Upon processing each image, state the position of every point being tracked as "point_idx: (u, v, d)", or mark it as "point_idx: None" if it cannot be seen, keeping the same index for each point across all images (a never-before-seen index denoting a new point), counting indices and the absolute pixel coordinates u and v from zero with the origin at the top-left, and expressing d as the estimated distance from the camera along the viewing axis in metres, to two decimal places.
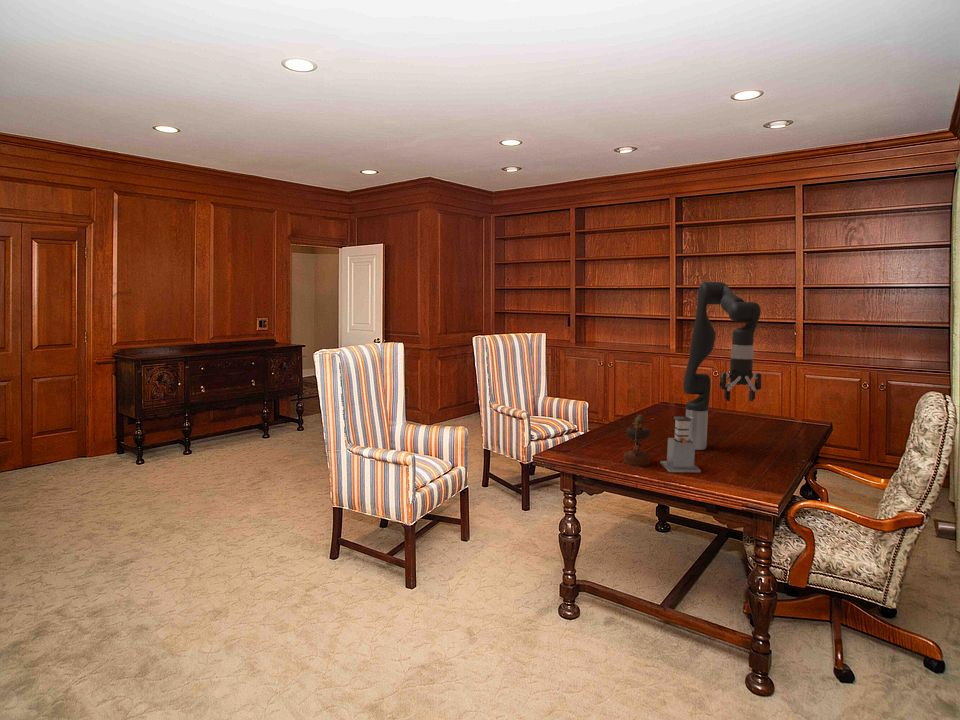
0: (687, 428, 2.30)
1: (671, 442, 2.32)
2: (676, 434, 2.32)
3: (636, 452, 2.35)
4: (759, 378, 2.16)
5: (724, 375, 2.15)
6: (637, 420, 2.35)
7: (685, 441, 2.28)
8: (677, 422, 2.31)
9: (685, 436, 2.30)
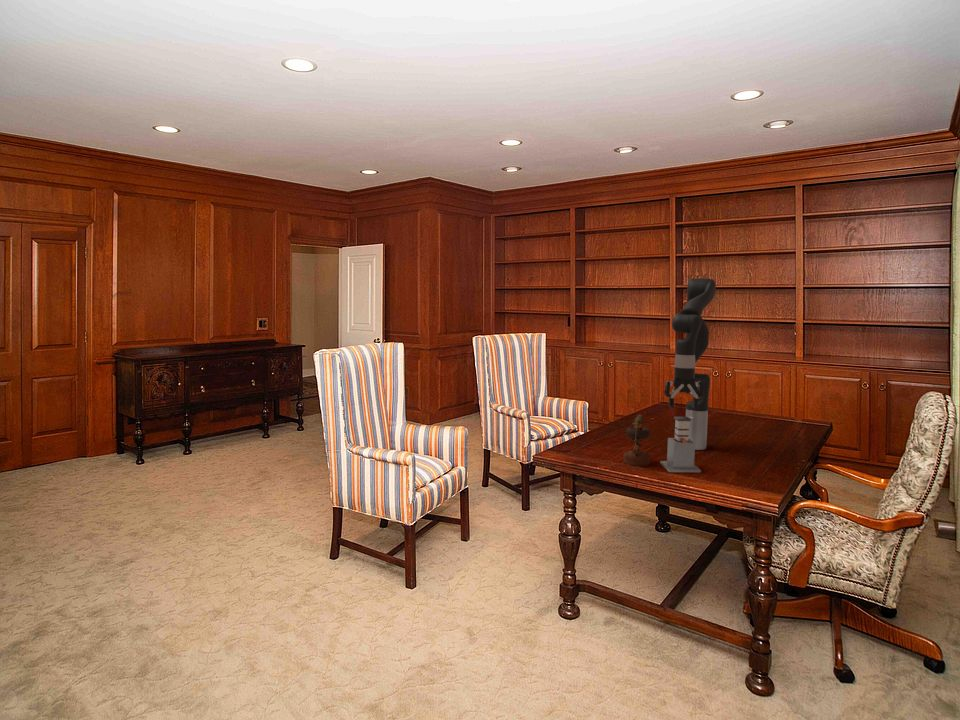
0: (687, 428, 2.30)
1: (671, 442, 2.32)
2: (676, 434, 2.32)
3: (636, 452, 2.35)
4: (701, 386, 2.29)
5: (668, 383, 2.29)
6: (637, 420, 2.35)
7: (685, 441, 2.28)
8: (677, 422, 2.31)
9: (685, 436, 2.30)
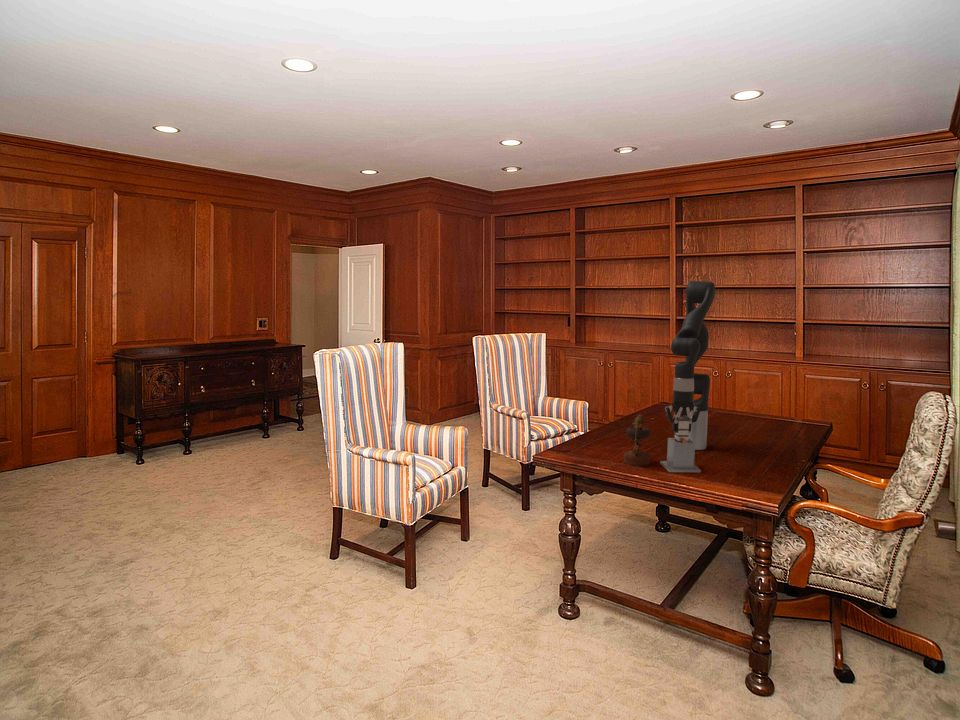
0: (687, 428, 2.30)
1: (671, 442, 2.32)
2: (676, 434, 2.32)
3: (636, 452, 2.35)
4: (698, 412, 2.30)
5: (667, 409, 2.30)
6: (637, 420, 2.35)
7: (685, 441, 2.28)
8: (677, 422, 2.31)
9: (685, 436, 2.30)
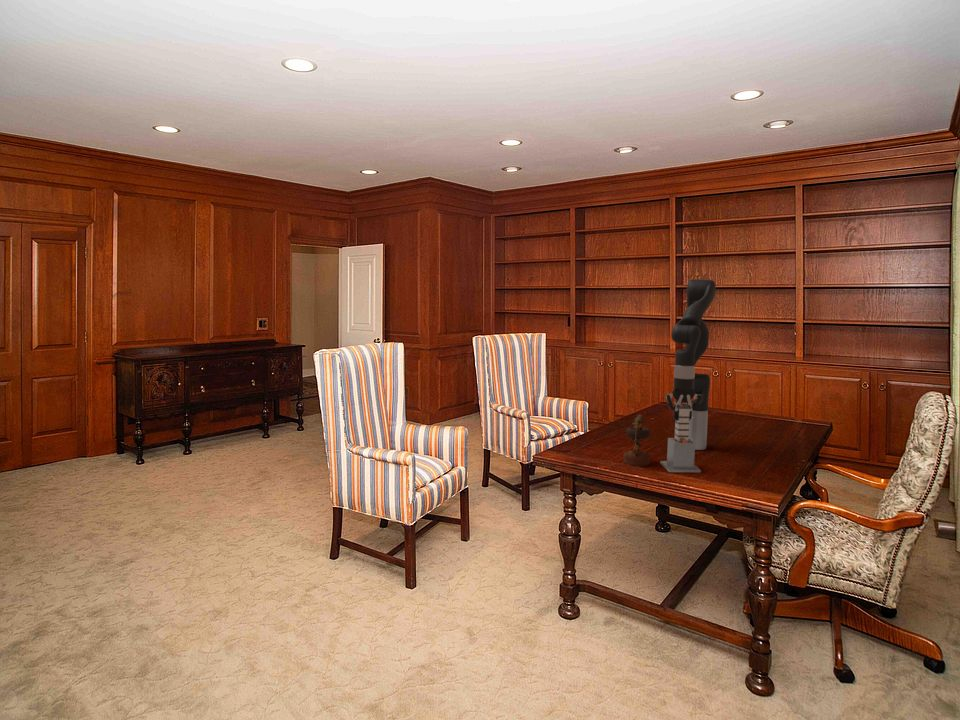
0: (688, 416, 2.29)
1: (671, 442, 2.32)
2: (677, 422, 2.31)
3: (636, 452, 2.35)
4: (698, 399, 2.29)
5: (668, 397, 2.29)
6: (637, 420, 2.35)
7: (685, 441, 2.28)
8: (678, 410, 2.30)
9: (686, 424, 2.29)
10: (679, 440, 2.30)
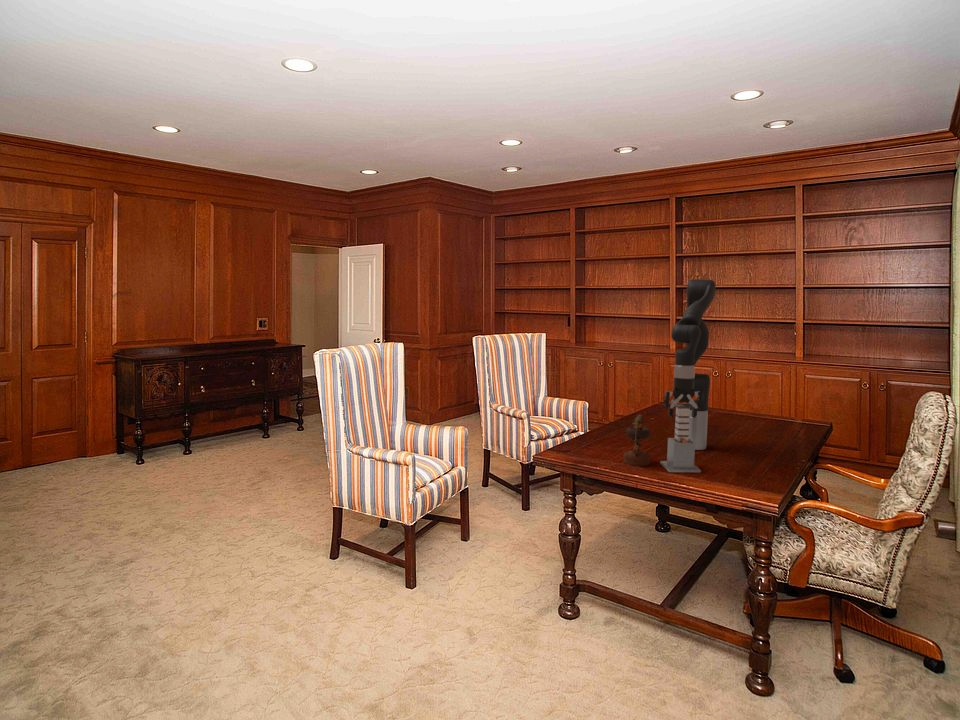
0: (688, 415, 2.29)
1: (671, 442, 2.32)
2: (677, 422, 2.31)
3: (636, 452, 2.35)
4: (700, 396, 2.29)
5: (667, 393, 2.29)
6: (637, 420, 2.35)
7: (685, 441, 2.28)
8: (678, 409, 2.30)
9: (686, 423, 2.29)
10: (679, 440, 2.30)
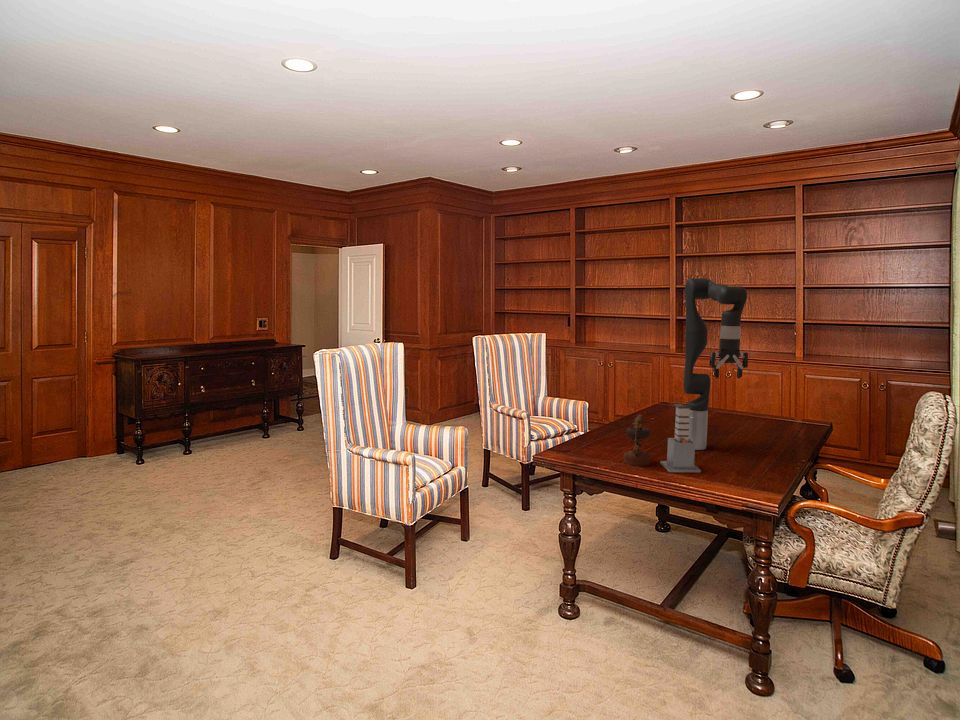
0: (688, 415, 2.29)
1: (671, 442, 2.32)
2: (677, 422, 2.31)
3: (636, 452, 2.35)
4: (746, 357, 2.33)
5: (713, 354, 2.33)
6: (637, 420, 2.35)
7: (685, 441, 2.28)
8: (678, 409, 2.30)
9: (686, 423, 2.29)
10: (679, 440, 2.30)
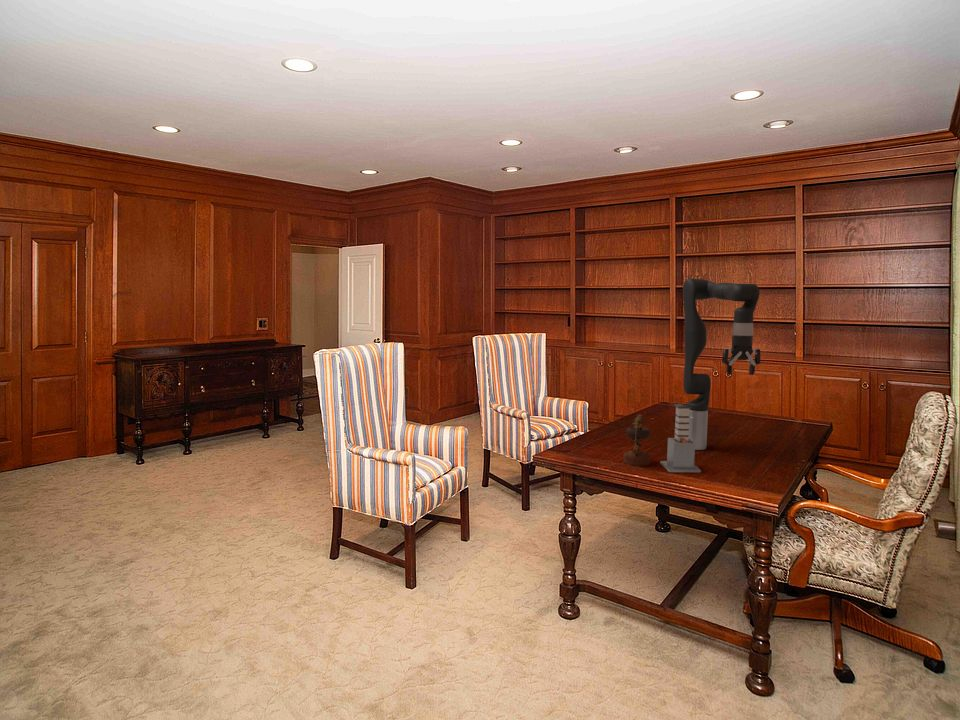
0: (688, 415, 2.29)
1: (671, 442, 2.32)
2: (677, 422, 2.31)
3: (636, 452, 2.35)
4: (758, 353, 2.35)
5: (726, 351, 2.35)
6: (637, 420, 2.35)
7: (685, 441, 2.28)
8: (678, 409, 2.30)
9: (686, 423, 2.29)
10: (679, 440, 2.30)
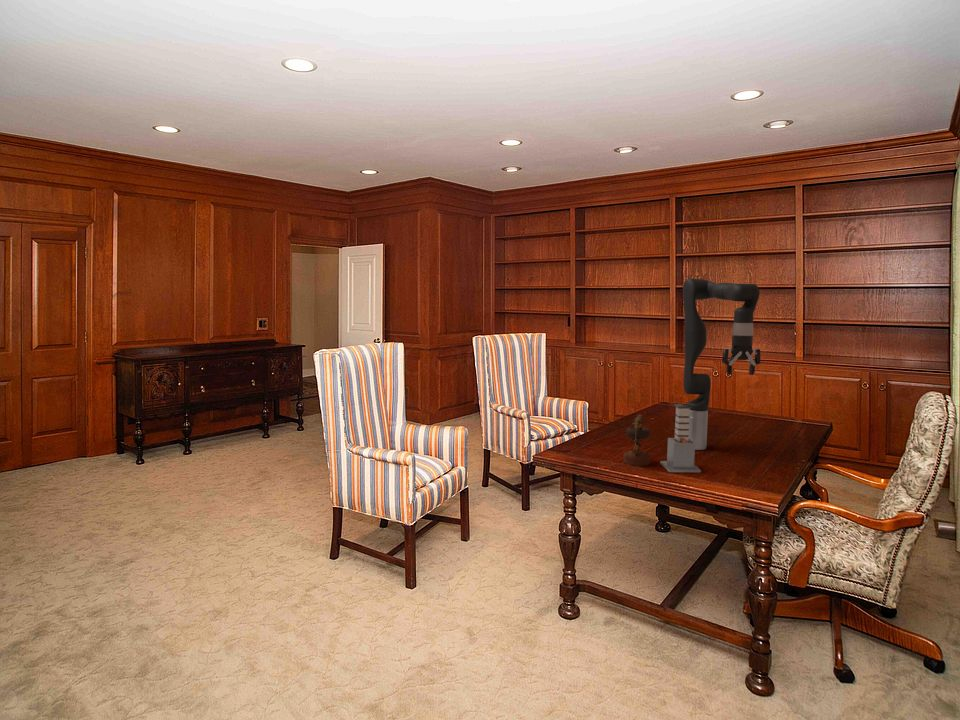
0: (688, 415, 2.29)
1: (671, 442, 2.32)
2: (677, 422, 2.31)
3: (636, 452, 2.35)
4: (758, 353, 2.35)
5: (726, 351, 2.35)
6: (637, 420, 2.35)
7: (685, 441, 2.28)
8: (678, 409, 2.30)
9: (686, 423, 2.29)
10: (679, 440, 2.30)
